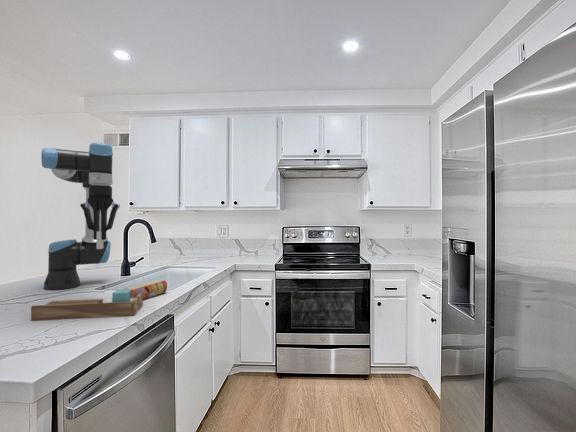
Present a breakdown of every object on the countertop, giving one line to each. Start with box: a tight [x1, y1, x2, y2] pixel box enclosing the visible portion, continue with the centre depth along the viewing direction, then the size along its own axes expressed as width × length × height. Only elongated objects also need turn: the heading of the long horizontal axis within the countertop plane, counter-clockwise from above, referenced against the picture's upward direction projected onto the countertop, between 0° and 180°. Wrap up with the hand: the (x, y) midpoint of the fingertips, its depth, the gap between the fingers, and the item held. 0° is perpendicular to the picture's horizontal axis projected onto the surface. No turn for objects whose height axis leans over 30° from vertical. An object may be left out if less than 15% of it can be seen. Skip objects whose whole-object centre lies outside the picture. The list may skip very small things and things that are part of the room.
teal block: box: [111, 289, 131, 302], centre depth 123 cm, size 5×5×5 cm
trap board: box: [30, 292, 144, 322], centre depth 123 cm, size 15×33×5 cm, turn 102°
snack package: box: [122, 278, 168, 300], centre depth 144 cm, size 21×7×7 cm, turn 158°
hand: (99, 248), depth 120 cm, fingers closed
